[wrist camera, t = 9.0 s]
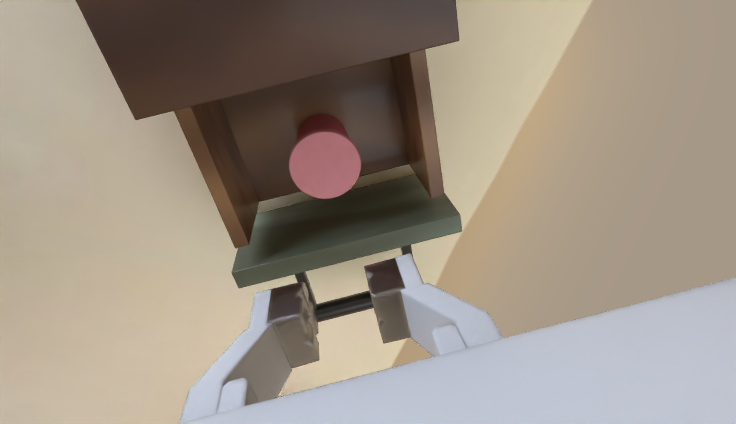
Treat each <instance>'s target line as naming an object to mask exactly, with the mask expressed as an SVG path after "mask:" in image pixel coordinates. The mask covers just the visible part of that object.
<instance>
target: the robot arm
mask: <svg viewBox="0 0 736 424" xmlns="http://www.w3.org/2000/svg"><path fill="white" fill-rule="evenodd" d="M364 268H365V273H366V277H367V281H368V286H369V291H370V295H371V299H372V303H373V307H374V311H375V314H376V317H377V321H378V325H379V329H380V333H381V336H382V340H383V343H388V342H393V341H397V340H401V339H405V338H410V337H411V338H412V339H413V340H414V341H415V342H416V343H418V344H419V345H420V346H421V347H423V348H424V349H425V350H426V351H428V352H429V353H430V354H432V355H433V356H434V357H430V358H426V359H423V360H419V361H415V362H411V363H407V364H404V365H400V366H396V367H392V368H388V369H385V370H381V371H377V372H373V373H369V374H366V375H362V376H358V377H354V378H350V379H347V380H343V381H339V382H335V383H331V384H328V385H324V386H320V387H316V388H312V389H308V390H305V391H301V392H297V393H293V394H289V395H286V396H282V397H278V398H276V397H277V396H278V394H279V392H280V390H281V388H282V387H283V385H284V383H285V381H286V380H287V378H288V376H289V374H290V373H291V371H292V369H291V368H295V367H298V366H302V365H305V364H308V363H312V362H315V361H319V342H318V340H317V337H316V335H317V334H318V322H317V316H316V312H315V309H314V306H313V303H312V302H310V301H309V296H308V290H307V287H306V284H305V283H304V282H299V283H295V284H291V285H286V286H282V287H278V288H274V289H269V290H266V291H262V292H258V293H256V294H255V296H254V300H253V306H252V312H251V317H250V323H249V328H248V330H244V331H243V332H242V333H241V334H240V335H239V336H238V337H237V339H236V340H235V341H234V342H233V343H232V344H231V345H230V346H229V347H228V348H227V350H226V351H225V352H224V353H223V354H222V355H221V356H220V357H219V358H218V359H217V360H216V362H215V363H214V364H213V365H212V366H211V367H210V368H209V369H208V370H207V371H206V372H205V374H204V375H203V376H202V377H201V378H200V379H199V380H198V381H197V382H196V383H195V385H194V386H193V387H192V388H191V389H190V390H189V392H188V395H187V399H186V402H185V405H184V408H183V412H182V415H181V418H180V422H179V424H736V277H734V278H731V279H727V280H723V281H719V282H716V283H712V284H708V285H705V286H700V287H697V288H693V289H689V290H686V291H682V292H678V293H674V294H670V295H667V296H663V297H659V298H656V299H651V300H648V301H644V302H640V303H636V304H632V305H629V306H625V307H621V308H617V309H613V310H609V311H605V312H602V313H598V314H594V315H590V316H586V317H583V318H579V319H575V320H571V321H567V322H564V323H560V324H556V325H552V326H548V327H545V328H541V329H537V330H534V331H530V332H525V333H522V334H518V335H514V336H511V337H507V338H503V336H502V335H501V333H500V332H499V330H498V328H497V326H496V324H495V323H494V321H493V319H492V318H491V316H490V314H489V313H488V312H486V311H484V310H482V309H480V308H478V307H476V306H474V305H472V304H470V303H468V302H466V301H464V300H462V299H460V298H458V297H456V296H454V295H452V294H449V293H447V292H445V291H444V290H442V289H440V288H437V287H436V286H434V285H431V284H429V283H426V284H424V283H423V281H422V278H421V276H420V274H419V271H418V269H417V266H416V264H415V262H414V259H413V257H412V255H411V254H410V253H409V254H406V255H402V256H399V257H395V258H393V259H389V260H386V261H382V262H378V263H374V264H371V265H367V266H364Z"/></svg>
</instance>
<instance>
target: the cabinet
mask: <svg viewBox="0 0 736 424" xmlns="http://www.w3.org/2000/svg"><path fill="white" fill-rule="evenodd" d="M76 2H77V4H78V6H79V8H80V10H81V12H82V14H83V16H84V18H85V20H86V22H87V24H88V26H89V28H90V30H91V32H92V34H93V36H94V38H95V40H96V42H97V44H98V46H99V48H100V50H101V52H102V54H103V56H104V58H105V60H106V62H107V64H108V66H109V68H110V70H111V72H112V74H113V76H114V78H115V80H116V82H117V84H118V86H119V88H120V90H121V92H122V94H123V96H124V98H125V100H126V102H127V104H128V106H129V108H130V110H131V112H132V114H133V116H134V118H135V120H139V119H143V118H147V117H151V116H155V115H159V114H163V113H167V112H171V111H175V110H179V109H183V108H187V107H191V106H196V105H200V104H204V103H208V102H212V101H216V100H220V99H224V98H228V97H232V96H236V95H240V94H244V93H248V92H253V91H257V90H261V89H265V88H269V87H273V86H277V85H281V84H285V83H289V82H293V81H297V80H301V79H305V78H310V77H314V76H318V75H322V74H326V73H330V72H334V71H338V70H342V69H346V68H350V67H354V66H358V65H362V64H367V63H371V62H375V61H379V60H383V59H387V58H391V57H395V56H399V55H403V54H407V53H411V52H415V51H419V50H423V49H428V48H432V47H436V46H440V45H444V44H448V43H452V42H456V41H459V31H458V20H457V10H456V0H76Z"/></svg>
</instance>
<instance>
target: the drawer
mask: <svg viewBox="0 0 736 424" xmlns="http://www.w3.org/2000/svg"><path fill="white" fill-rule="evenodd" d="M174 112H175V114H176V117H177V119H178V121H179V123H180V126H181V128H182V130H183V132H184V135H185V137H186V139H187V141H188V144H189V146H190V148H191V150H192V152H193V155H194V157H195V159H196V161H197V164H198V166H199V168H200V170H201V173H202V175H203V177H204V179H205V182H206V184H207V186H208V188H209V190H210V193H211V195H212V197H213V199H214V202H215V204H216V206H217V208H218V211H219V213H220V215H221V217H222V220H223V222H224V224H225V226H226V228H227V231H228V233H229V235H230V237H231V240H232V242H233V244H234V246H235V248H238V251H237V254H236V258H235V262H234V265H233V269H232V275H233V277H234V279H235V281H236V283H237V286H238V288H242V287H246V286H250V285H254V284H258V283H262V282H266V281H270V280H274V279H278V278H282V277H285V276H289V275H293V274H295V276H296V279H297V282H298V283H299V282H304V283H305V284H306V287H307V290H308V296H309V301H310V302H312V303H313V306H314V309H315V312H316V316H317V322H321V321H325V320H329V319H333V318H337V317H341V316H344V315H348V314H352V313H356V312H360V311H364V310H368V309H372V308H374V307H373V303H372V299H371V295H370V291H366V292H362V293H358V294H354V295H350V296H347V297H343V298H339V299H335V300H331V301H327V302H323V303H319V304H317V303H316V300H315V297H314V294H313V292H312V289H311V286H310V283H309V280H308V278H307V275H306V272H305V271H309V270H313V269H317V268H321V267H325V266H329V265H332V264H336V263H340V262H344V261H348V260H352V259H356V258H360V257H364V256H368V255H372V254H376V253H379V252H383V251H387V250H391V249H395V248H399V247H401V251H402V255H406V254H409V253H410V254H411V255H412V250H411V244H415V243H419V242H423V241H426V240H430V239H434V238H438V237H442V236H446V235H450V234H454V233H458V232H461V231H462V226H461V218H460V214H459V212H458V211H457V210H456V208H455V207H454V205H453V204H452V203H451V201H450V200H449V198H448V197H447V196H446V194H445V193H444V188H443V181H442V173H441V165H440V158H439V150H438V143H437V135H436V128H435V120H434V113H433V105H432V98H431V90H430V83H429V75H428V68H427V60H426V53H425V49H423V50H419V51H415V52H411V53H407V54H403V55H399V56H395V57H391V58H387V59H383V60H379V61H375V62H371V63H367V64H362V65H358V66H354V67H350V68H346V69H342V70H338V71H334V72H330V73H326V74H322V75H318V76H314V77H310V78H305V79H301V80H297V81H293V82H289V83H285V84H281V85H277V86H273V87H269V88H265V89H261V90H257V91H253V92H248V93H244V94H240V95H236V96H232V97H228V98H224V99H220V100H216V101H212V102H208V103H204V104H200V105H196V106H191V107H187V108H183V109H179V110H175V111H174ZM316 114H328V115H331V116H333V117H335V118H337V119H338V120H339V121H340V122H341V123H342V124H343V126H344V127H345V129H346V132H347V135H348V137H349V138H350V139H351V140H352V141H353V143H354V144H355V146H356V148H357V150H358V152H359V155H360V159H361V171H360V175H359V176H363V175H367V174H371V173H375V172H379V171H383V170H387V169H391V168H395V167H399V166H403V165H407V164H410V166H411V168H412V169H413V171H414V172H415V174H414V175H410V176H406V177H402V178H398V179H394V180H390V181H386V182H382V183H378V184H374V185H370V186H366V187H362V188H358V189H354V190H350V191H347V192H346V193H344V194H342V195H340V196H338V197H335V198H329V199H321V198H319V199H315V200H311V201H307V202H303V203H299V204H295V205H291V206H287V207H283V208H279V209H275V210H271V211H267V212H263V213H259V214H256V213H257V209H258V205H259V202H260V201H264V200H268V199H272V198H276V197H280V196H284V195H288V194H292V193H296V192H300V191H301V190H300V189H299V188H298V187H297V186H296V184H295V183H294V181H293V180H292V177H291V175H290V171H289V159H290V154H291V150H292V148H293V146H294V145H295V143H296V141H297V132H298V129H299V127H300V125H301V124H302V123H303V121H305V120H306V119H307V118H309V117H310V116H313V115H316ZM412 257H413V255H412Z"/></svg>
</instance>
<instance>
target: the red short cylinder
mask: <svg viewBox="0 0 736 424" xmlns="http://www.w3.org/2000/svg"><path fill="white" fill-rule="evenodd" d="M289 171H290V175H291V177H292V180H293V181H294V183H295V184H296V186H297V187H298V188H299V189H300V190H301V191H303V192H304V193H306V194H308V195H310V196H312V197H316V198H321V199H329V198H335V197H338V196H340V195H342V194H344V193H346V192H347V191H348V190H350V189H351V188H352V187H353V185H354V184H355V183H356V181H357V179H358V177H359V175H360V171H361V159H360V155H359V152H358V150H357V148H356V146H355V144H354V143H353V141H352V140H351V139H350V138H349V137H348V135H347V132H346V129H345V127H344V126H343V124H342V123H341V122H340V121H339V120H338V119H337V118H335V117H333V116H331V115H328V114H316V115H313V116H310V117H309V118H307V119H306V120H305V121H303V123H302V124H301V125H300V127H299V129H298V132H297V141H296V143H295V145H294V146H293V148H292V150H291V154H290V159H289Z"/></svg>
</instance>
